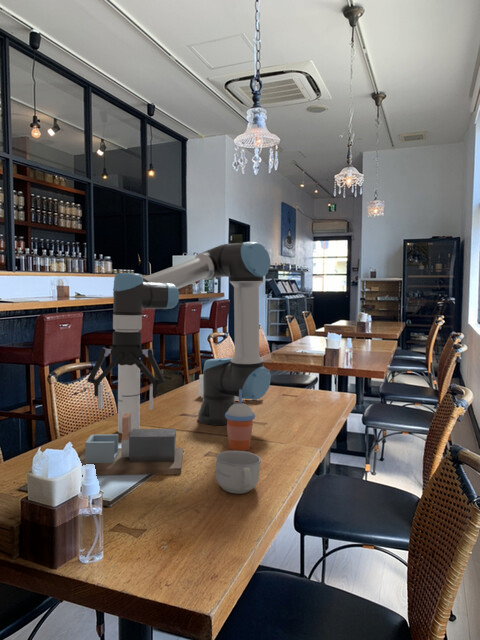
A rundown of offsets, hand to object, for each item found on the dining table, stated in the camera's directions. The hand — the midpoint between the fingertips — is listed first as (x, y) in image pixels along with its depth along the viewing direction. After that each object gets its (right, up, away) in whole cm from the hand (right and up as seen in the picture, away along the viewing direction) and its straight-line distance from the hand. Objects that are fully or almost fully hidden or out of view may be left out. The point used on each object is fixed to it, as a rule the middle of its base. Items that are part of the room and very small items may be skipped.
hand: (125, 408), depth 125 cm
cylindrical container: (-7, -14, +31) cm, 34 cm away
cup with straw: (+31, -15, +16) cm, 38 cm away
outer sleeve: (+7, -14, +2) cm, 16 cm away
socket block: (-7, -14, 0) cm, 15 cm away
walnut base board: (+1, -15, +1) cm, 15 cm away
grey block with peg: (+5, -13, +1) cm, 14 cm away
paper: (+27, -12, +82) cm, 87 cm away
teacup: (+31, -17, -15) cm, 38 cm away
